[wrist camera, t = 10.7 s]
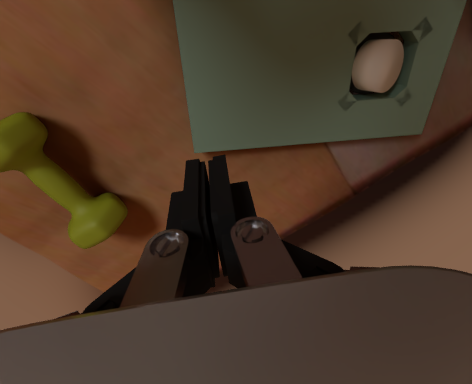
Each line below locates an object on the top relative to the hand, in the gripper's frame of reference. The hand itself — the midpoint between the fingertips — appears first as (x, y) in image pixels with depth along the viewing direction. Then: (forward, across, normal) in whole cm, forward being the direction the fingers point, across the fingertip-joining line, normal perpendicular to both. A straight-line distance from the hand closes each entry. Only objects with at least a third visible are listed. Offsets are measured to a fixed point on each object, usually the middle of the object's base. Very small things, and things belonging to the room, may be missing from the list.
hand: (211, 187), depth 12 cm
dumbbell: (+23, +19, +9) cm, 31 cm away
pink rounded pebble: (+21, -18, +1) cm, 27 cm away
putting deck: (+22, -12, +1) cm, 25 cm away
